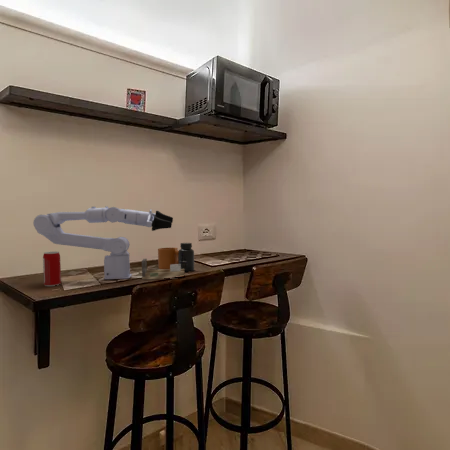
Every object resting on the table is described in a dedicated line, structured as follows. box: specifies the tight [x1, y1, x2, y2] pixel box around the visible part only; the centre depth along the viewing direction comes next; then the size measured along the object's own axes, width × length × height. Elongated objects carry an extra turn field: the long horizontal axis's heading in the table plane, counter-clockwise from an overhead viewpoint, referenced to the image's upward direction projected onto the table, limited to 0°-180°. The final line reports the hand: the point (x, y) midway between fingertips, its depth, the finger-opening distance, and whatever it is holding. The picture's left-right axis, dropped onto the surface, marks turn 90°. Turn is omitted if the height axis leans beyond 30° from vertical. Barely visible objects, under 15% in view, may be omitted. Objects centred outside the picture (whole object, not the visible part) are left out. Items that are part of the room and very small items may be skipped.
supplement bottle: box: [178, 242, 195, 273], centre depth 153 cm, size 7×7×12 cm
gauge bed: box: [141, 258, 186, 280], centre depth 139 cm, size 16×7×7 cm, turn 98°
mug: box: [157, 247, 179, 270], centre depth 161 cm, size 9×12×9 cm
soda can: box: [42, 251, 62, 287], centre depth 127 cm, size 6×6×12 cm
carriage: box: [170, 264, 181, 272], centre depth 139 cm, size 4×4×4 cm
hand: (172, 222), depth 141 cm, fingers open, 7 cm apart
